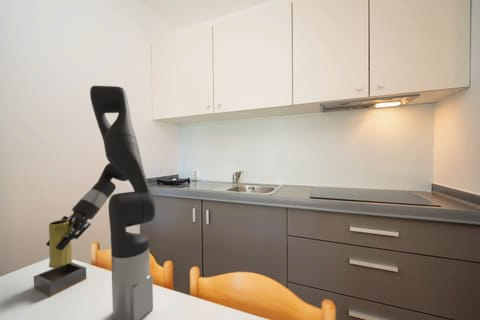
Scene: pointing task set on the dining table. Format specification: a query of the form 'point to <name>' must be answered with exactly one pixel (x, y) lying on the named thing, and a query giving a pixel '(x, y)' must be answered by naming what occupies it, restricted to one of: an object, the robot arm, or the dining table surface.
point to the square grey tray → (59, 278)
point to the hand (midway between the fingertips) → (53, 247)
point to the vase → (56, 235)
